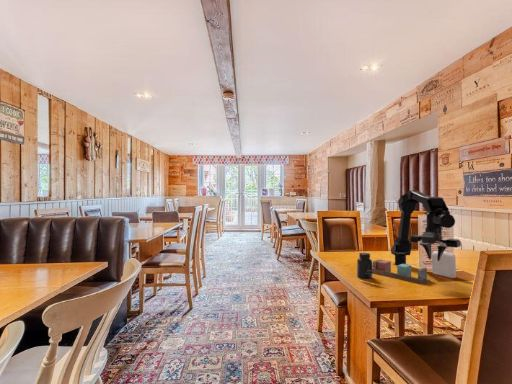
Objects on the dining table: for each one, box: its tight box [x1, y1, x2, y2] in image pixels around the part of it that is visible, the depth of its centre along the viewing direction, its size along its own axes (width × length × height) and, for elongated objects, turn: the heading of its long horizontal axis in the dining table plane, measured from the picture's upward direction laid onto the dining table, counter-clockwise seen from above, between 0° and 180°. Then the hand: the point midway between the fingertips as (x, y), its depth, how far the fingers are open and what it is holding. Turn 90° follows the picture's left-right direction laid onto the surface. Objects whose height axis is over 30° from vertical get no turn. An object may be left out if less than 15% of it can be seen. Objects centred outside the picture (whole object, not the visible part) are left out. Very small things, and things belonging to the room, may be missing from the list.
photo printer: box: [431, 250, 457, 279], centre depth 139 cm, size 10×4×12 cm, turn 26°
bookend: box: [417, 267, 430, 284], centre depth 130 cm, size 7×2×5 cm, turn 129°
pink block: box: [377, 259, 392, 273], centre depth 144 cm, size 6×4×6 cm, turn 129°
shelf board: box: [372, 258, 424, 285], centre depth 138 cm, size 11×24×6 cm, turn 39°
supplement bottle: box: [356, 252, 373, 280], centre depth 136 cm, size 7×7×12 cm
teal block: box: [396, 263, 412, 277], centre depth 136 cm, size 6×4×6 cm, turn 129°
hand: (434, 260), depth 126 cm, fingers open, 3 cm apart
